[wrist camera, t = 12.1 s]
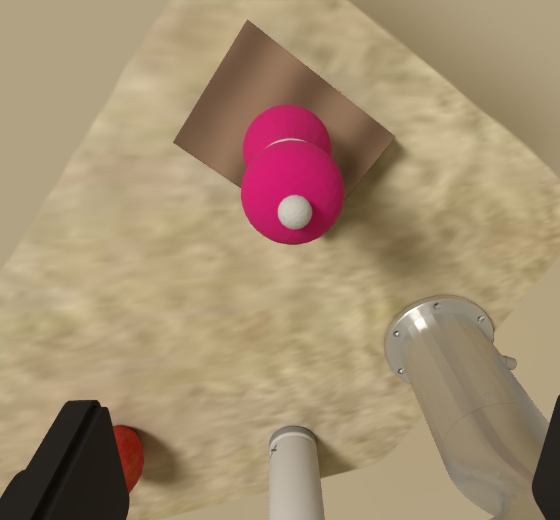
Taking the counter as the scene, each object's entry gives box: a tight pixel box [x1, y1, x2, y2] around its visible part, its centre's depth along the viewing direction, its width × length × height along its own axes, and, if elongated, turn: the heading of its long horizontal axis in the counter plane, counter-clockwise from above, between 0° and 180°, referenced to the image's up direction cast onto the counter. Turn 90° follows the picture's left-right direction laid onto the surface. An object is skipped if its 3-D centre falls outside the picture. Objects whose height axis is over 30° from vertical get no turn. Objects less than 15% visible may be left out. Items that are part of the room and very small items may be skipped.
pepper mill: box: [241, 105, 344, 245], centre depth 32 cm, size 7×7×20 cm
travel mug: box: [269, 426, 325, 520], centre depth 51 cm, size 6×7×20 cm
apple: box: [113, 426, 144, 493], centre depth 55 cm, size 8×8×11 cm
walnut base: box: [173, 20, 395, 201], centre depth 42 cm, size 16×12×3 cm
